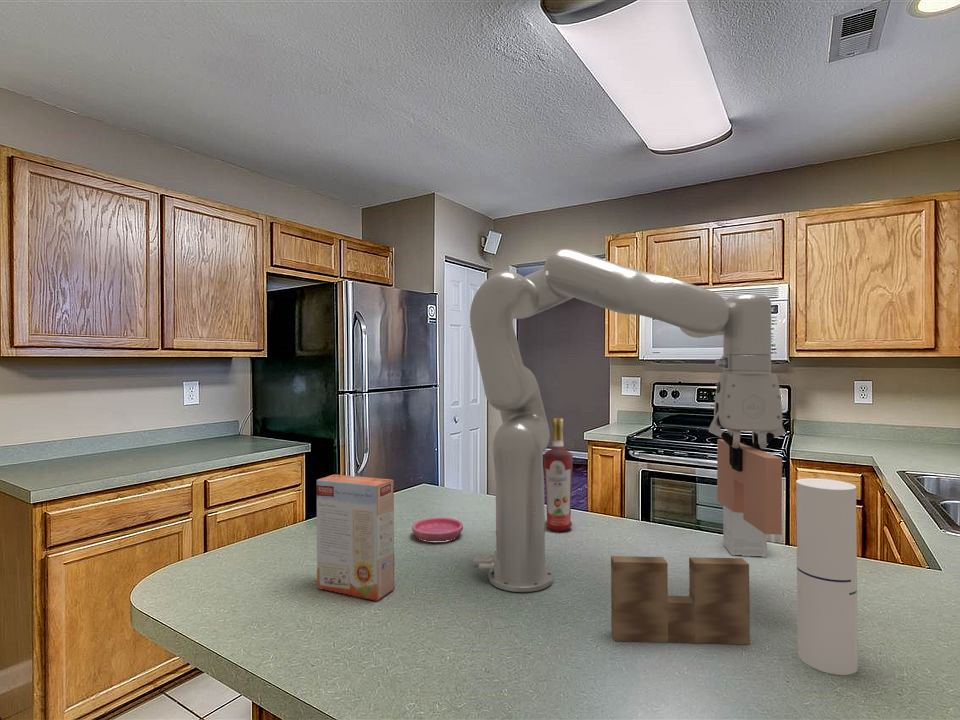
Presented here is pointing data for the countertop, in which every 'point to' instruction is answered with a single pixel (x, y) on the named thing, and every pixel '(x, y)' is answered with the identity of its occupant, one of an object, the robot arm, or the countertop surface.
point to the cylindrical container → (827, 575)
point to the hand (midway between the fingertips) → (746, 469)
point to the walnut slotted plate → (680, 601)
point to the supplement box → (742, 536)
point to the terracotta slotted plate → (752, 487)
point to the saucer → (437, 529)
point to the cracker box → (355, 535)
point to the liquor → (558, 481)
